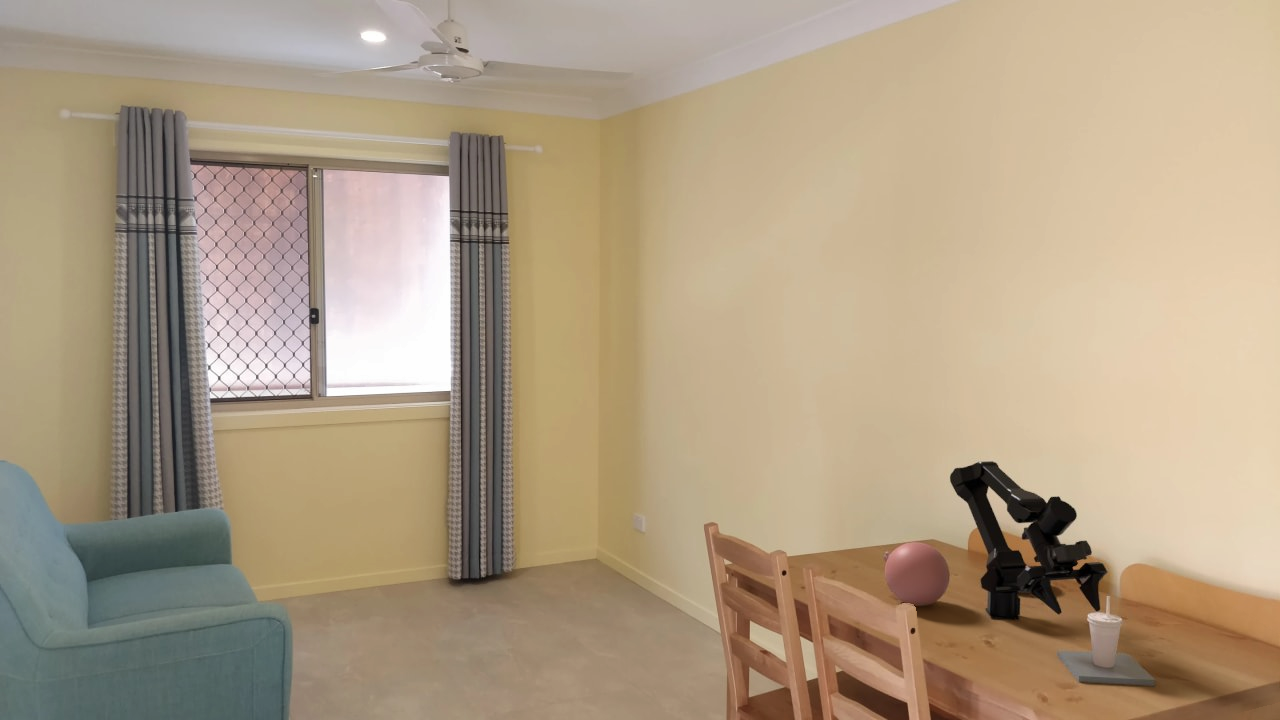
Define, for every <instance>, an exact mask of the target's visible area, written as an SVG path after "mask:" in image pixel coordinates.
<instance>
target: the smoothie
mask: <svg viewBox="0 0 1280 720" xmlns="http://www.w3.org/2000/svg"><path fill="white" fill-rule="evenodd" d="M1110 602H1111V596H1108V595H1107V596H1106V612H1099V611H1095V612H1090V613H1088V614H1087V622H1089V623H1088V625H1089V632H1090V633H1089V634H1090V640H1091V641H1090V642H1091V652H1093V662H1094V664H1095V665H1097V666H1100V667H1106V668H1110V667H1113V666H1114V662H1115V656H1116V653H1117V649H1118V643H1119V637H1120V631H1121V627H1122V626H1123V618H1121V616H1119V615H1116V614H1113V613H1111V612H1110V609H1111V608H1110V606H1111V605H1110V604H1111V603H1110Z"/></svg>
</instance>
